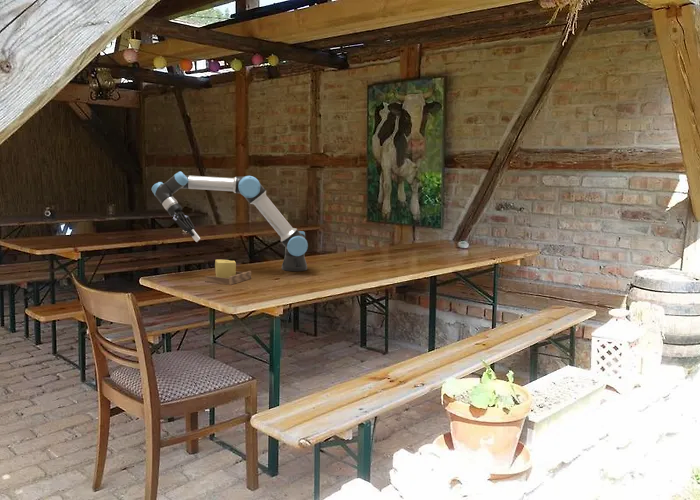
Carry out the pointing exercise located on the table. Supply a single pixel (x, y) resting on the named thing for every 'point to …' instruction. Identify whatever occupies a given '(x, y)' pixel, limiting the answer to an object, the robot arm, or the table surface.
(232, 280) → the brown wooden u frame
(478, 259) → the table surface
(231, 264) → the cheese
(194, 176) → the robot arm
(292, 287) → the table surface
